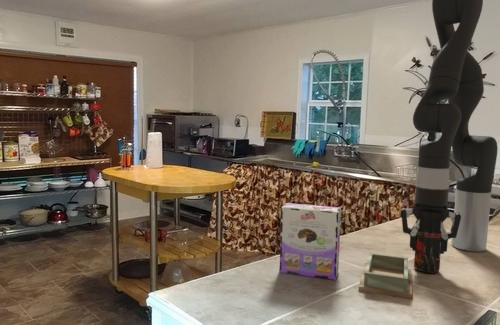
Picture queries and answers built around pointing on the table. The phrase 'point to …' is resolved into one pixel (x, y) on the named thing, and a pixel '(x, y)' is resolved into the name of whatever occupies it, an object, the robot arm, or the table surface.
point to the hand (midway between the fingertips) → (427, 251)
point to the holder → (387, 276)
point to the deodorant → (428, 241)
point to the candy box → (310, 240)
